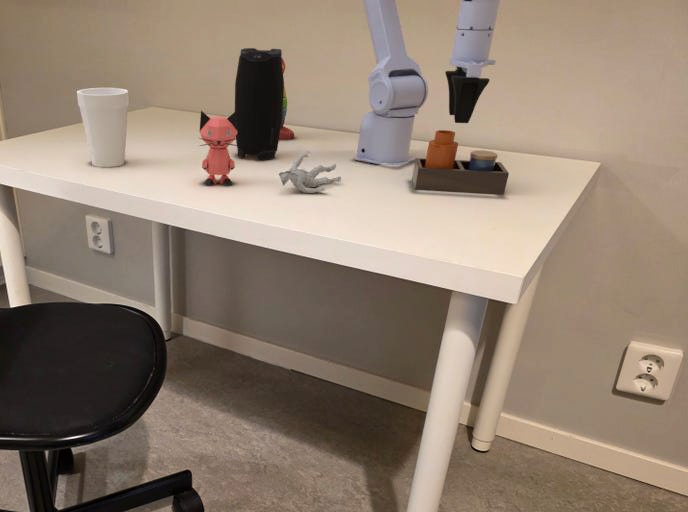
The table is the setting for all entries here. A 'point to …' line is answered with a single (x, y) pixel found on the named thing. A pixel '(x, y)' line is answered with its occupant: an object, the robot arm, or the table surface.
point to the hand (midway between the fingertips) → (458, 118)
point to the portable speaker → (259, 102)
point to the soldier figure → (307, 177)
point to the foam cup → (105, 124)
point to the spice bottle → (442, 150)
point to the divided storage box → (460, 178)
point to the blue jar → (482, 160)
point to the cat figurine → (218, 146)
